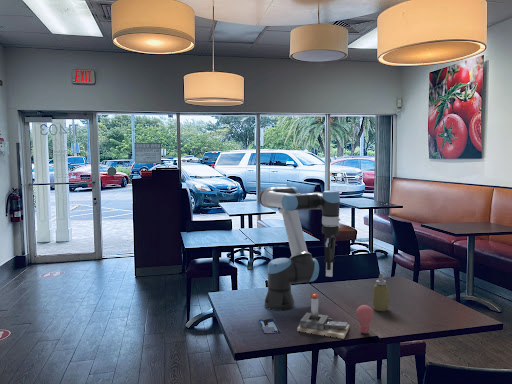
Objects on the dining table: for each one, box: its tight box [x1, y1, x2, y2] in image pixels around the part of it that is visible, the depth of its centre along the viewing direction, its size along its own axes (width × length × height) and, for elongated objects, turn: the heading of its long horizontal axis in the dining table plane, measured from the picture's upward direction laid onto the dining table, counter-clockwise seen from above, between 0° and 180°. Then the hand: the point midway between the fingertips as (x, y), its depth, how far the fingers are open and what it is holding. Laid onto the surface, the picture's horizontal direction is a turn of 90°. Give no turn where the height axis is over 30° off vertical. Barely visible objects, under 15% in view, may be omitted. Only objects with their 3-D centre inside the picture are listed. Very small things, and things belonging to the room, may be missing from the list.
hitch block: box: [296, 312, 350, 340], centre depth 178 cm, size 20×12×4 cm, turn 67°
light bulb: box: [355, 304, 375, 334], centre depth 174 cm, size 7×7×12 cm
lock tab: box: [327, 320, 349, 328], centre depth 176 cm, size 9×5×1 cm, turn 67°
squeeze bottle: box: [371, 272, 390, 312], centre depth 201 cm, size 8×8×18 cm
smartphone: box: [257, 317, 282, 334], centre depth 182 cm, size 7×1×15 cm
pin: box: [310, 292, 319, 321], centre depth 180 cm, size 3×3×14 cm
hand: (329, 276), depth 187 cm, fingers closed
